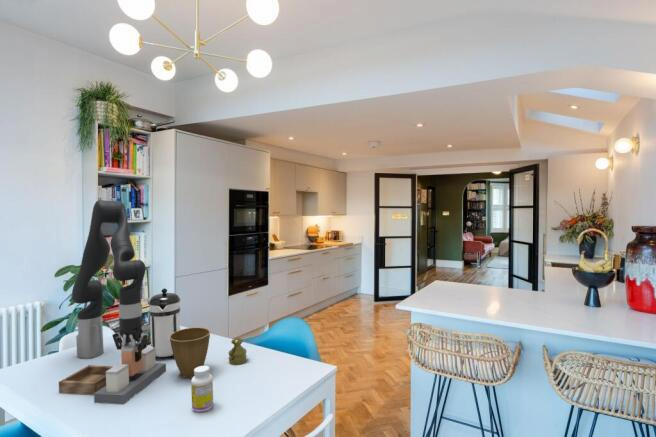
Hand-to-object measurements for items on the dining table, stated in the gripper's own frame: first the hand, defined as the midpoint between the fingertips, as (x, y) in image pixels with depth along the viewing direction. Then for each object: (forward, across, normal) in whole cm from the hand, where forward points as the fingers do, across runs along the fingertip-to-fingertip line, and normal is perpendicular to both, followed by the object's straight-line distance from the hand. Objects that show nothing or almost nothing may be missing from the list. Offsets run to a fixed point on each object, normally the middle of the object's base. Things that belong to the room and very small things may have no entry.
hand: (132, 360), depth 137 cm
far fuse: (+9, 0, -8) cm, 12 cm away
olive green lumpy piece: (+9, -31, -24) cm, 41 cm away
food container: (+10, +20, -41) cm, 46 cm away
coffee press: (+10, +4, -28) cm, 30 cm away
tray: (+9, +16, +1) cm, 18 cm away
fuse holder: (+9, 0, 0) cm, 9 cm away
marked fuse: (+4, 0, 0) cm, 4 cm away
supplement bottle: (+9, -33, +12) cm, 37 cm away
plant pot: (+9, -17, -11) cm, 22 cm away
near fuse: (+9, 0, +8) cm, 12 cm away
